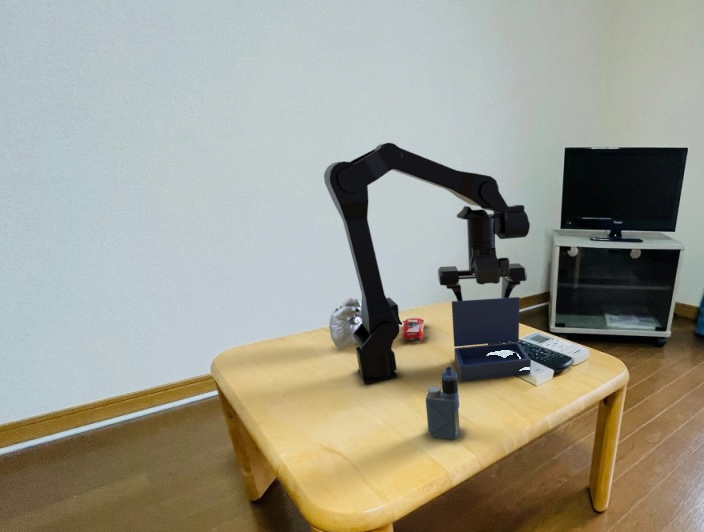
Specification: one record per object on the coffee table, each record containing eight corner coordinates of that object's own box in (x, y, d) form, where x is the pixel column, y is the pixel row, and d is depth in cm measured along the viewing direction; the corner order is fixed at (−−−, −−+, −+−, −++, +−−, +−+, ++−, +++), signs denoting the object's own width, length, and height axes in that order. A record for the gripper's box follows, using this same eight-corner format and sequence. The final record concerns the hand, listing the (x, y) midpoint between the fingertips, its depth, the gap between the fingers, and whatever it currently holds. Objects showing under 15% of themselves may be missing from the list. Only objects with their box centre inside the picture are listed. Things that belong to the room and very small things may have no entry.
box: (530, 373, 82) (530, 359, 81) (461, 381, 79) (460, 367, 77) (518, 355, 91) (518, 341, 89) (454, 361, 87) (454, 347, 86)
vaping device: (457, 441, 61) (454, 373, 56) (426, 436, 62) (419, 369, 57) (463, 431, 64) (459, 365, 59) (432, 427, 64) (426, 361, 59)
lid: (519, 297, 84) (514, 291, 89) (451, 302, 81) (449, 295, 85) (518, 341, 89) (513, 333, 93) (454, 346, 85) (451, 338, 90)
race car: (405, 325, 107) (403, 311, 105) (425, 324, 108) (424, 310, 106) (400, 344, 95) (398, 329, 94) (423, 343, 96) (422, 327, 94)
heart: (341, 333, 100) (328, 290, 93) (377, 334, 99) (366, 292, 93) (322, 356, 92) (306, 311, 85) (361, 358, 91) (347, 312, 84)
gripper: (439, 249, 73) (445, 327, 79) (535, 245, 77) (533, 320, 84) (435, 239, 83) (440, 310, 89) (520, 237, 87) (519, 304, 93)
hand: (483, 311), depth 89 cm, fingers open, 9 cm apart
